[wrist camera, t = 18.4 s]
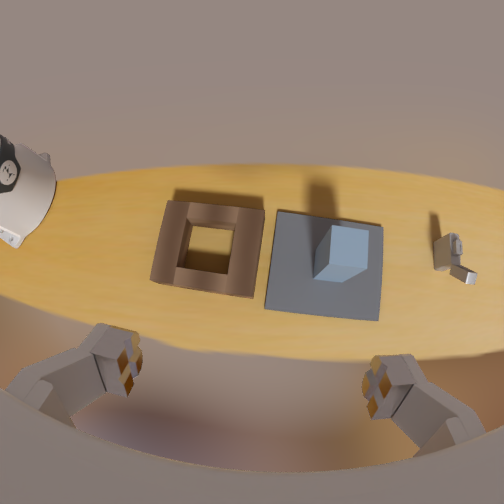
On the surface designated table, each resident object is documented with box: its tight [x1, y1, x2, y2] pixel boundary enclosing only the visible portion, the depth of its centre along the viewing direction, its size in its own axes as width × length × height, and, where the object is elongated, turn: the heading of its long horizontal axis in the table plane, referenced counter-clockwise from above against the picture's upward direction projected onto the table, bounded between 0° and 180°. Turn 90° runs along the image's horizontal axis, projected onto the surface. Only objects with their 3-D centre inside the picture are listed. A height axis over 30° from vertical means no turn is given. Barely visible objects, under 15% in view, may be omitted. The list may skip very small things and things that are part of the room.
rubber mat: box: [265, 212, 383, 321], centre depth 33 cm, size 14×12×1 cm
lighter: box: [433, 233, 477, 284], centre depth 29 cm, size 7×2×8 cm, turn 172°
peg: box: [313, 225, 369, 283], centre depth 29 cm, size 4×4×9 cm
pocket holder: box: [150, 200, 265, 299], centre depth 33 cm, size 12×10×3 cm
